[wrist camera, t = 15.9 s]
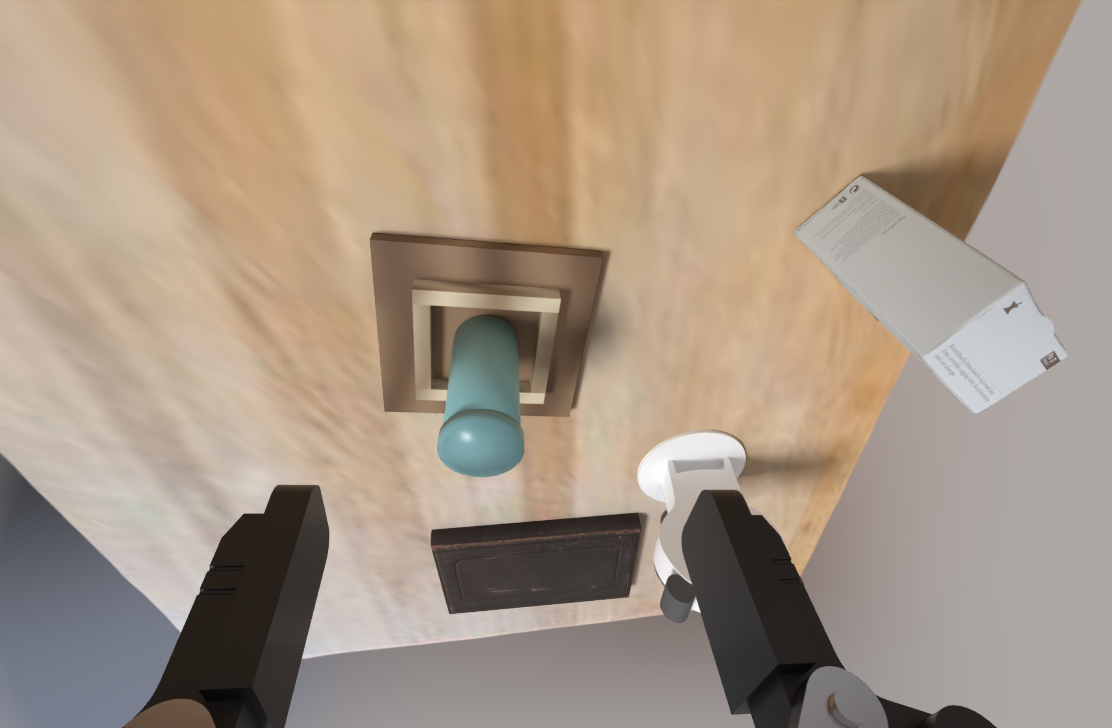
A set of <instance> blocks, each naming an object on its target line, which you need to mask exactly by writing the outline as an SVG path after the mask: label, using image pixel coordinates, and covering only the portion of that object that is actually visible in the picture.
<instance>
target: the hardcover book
mask: <svg viewBox="0 0 1112 728" xmlns="http://www.w3.org/2000/svg"><path fill="white" fill-rule="evenodd" d="M640 531H641V525H640V519H639V515H638V513H629V514H617V515H605V516H593V517H581V518H569V519H557V520H545V521H533V522H521V523H509V524H497V525H485V526H474V527H462V528H450V529H438V530H432V532H431V548H432V552H433V556H434V559H435V563H436V567H437V570H438V574H439V578H440V581H441V585H442V589H443V593H444V596H445V600H446V604H447V607H448V611H449V614H456V613H467V612H477V611H488V610H498V609H509V608H520V607H530V606H541V605H551V604H562V603H573V602H583V601H594V600H604V599H615V598H626V597H629V594H630V588H631V583H632V577H633V571H634V565H635V559H636V554H637V548H638V542H639V536H640Z"/></svg>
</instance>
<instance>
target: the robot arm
mask: <svg viewBox="0 0 1112 728" xmlns="http://www.w3.org/2000/svg"><path fill="white" fill-rule="evenodd" d="M681 543H682V552H683V556H684V560H685V563H686V566H687V570H688V573H689V576H690V580H691V583H692V586H693V589H694V593H695V596H696V599H697V603H698V606H699V609H700V612H701V616H702V619H703V622H704V626H705V628H706V632H707V635H708V639H709V641H710V645H711V649H712V652H713V655H714V658H715V661H716V665H717V668H718V672H719V675H720V678H721V681H722V685H723V688H724V691H725V694H726V698H727V701H728V704H729V708H730V711H731V714H732V715H734V714H750V713H751V715H752V719H753V721H754V725H755V728H996V727H995V726H994V725H993V724H992V723H991V722H990V721H988V720H987V719H986V718H984V717H983V716H982V715H980V714H978V713H977V712H975V711H973V710H970V709H968V708H965V707H962V706H956V705H952V706H947V707H944V708H942V709H941V710H939V711H938V712H936V713H935V714H929V713H926V712H923V711H920V710H917V709H914V708H911V707H908V706H904V705H901V704H898V703H895V702H892V701H889V700H886V699H883V698H881V697H879V696H877V695H875V694H874V693H873V691H872V690H871V689H870V688H869V687H868V686H867V685H866V684H865V683H864V682H863V681H862V680H861V679H860V678H858V677H857V676H855V675H854V674H853V673H851V672H849V671H847V670H846V669H845V668H844V666H843V665H842V663H841V662H840V660H839V659H838V657H837V655H836V653H835V651H834V649H833V647H832V644H831V642H830V640H829V638H828V636H827V634H826V632H825V630H824V627H823V625H822V623H821V621H820V619H819V617H818V615H817V613H816V611H815V608H814V606H813V604H812V602H811V600H810V598H809V596H808V593H807V591H806V589H805V587H804V585H803V583H801V582H800V576H799V574H798V572H797V570H796V568H795V566H794V564H792V563H791V557H790V555H789V553H788V551H787V549H786V547H785V545H784V543H783V540H782V538H781V536H780V535H779V534H778V533H777V531H776V530H775V529H774V528H773V527H772V526H771V525H770V524H769V522H768V521H767V520H766V519H765V518H764V517H763V516H762V515H752V514H751V512H750V510H749V508H748V505H747V503H746V501H745V499H744V497H743V495H742V494H741V493H740V492H739V491H738V490H702V491H701V493H700V494H699V496H698V498H697V501H696V503H695V505H694V507H693V509H692V511H691V513H690V515H689V517H688V519H687V521H686V523H685V525H684V528H683V531H682V538H681ZM328 548H329V527H328V522H327V517H326V513H325V508H324V504H323V499H322V494H321V490H320V487H319V486H318V485H277V486H276V487H275V488H274V490H273V492H272V494H271V496H270V499H269V502H268V504H267V507H266V510H265V512H264V514H243V515H242V516H241V517H240V518H239V520H238V521H237V522H236V523H235V524H234V525H233V526H232V527H231V528H230V529H229V530H228V532H227V533H226V534H225V535H224V536H223V537H222V538H221V541H220V543H219V545H218V548H217V550H216V552H215V555H214V557H213V559H212V562H211V564H210V570H209V571H207V573H206V576H205V578H204V580H203V583H202V585H201V587H200V593H199V595H197V597H196V599H195V601H194V604H193V606H192V608H191V611H190V613H189V615H188V618H187V620H186V622H185V625H184V627H183V629H182V632H181V634H180V637H179V639H178V641H177V643H176V646H175V648H174V651H173V653H172V655H171V657H170V660H169V662H168V664H167V667H166V669H165V672H164V674H163V676H162V678H161V681H160V683H159V685H158V687H157V689H156V691H155V692H154V694H153V696H152V697H151V699H150V700H149V701H148V703H147V704H146V705H145V706H144V708H143V709H142V710H141V711H140V712H139V713H138V714H137V715H136V716H135V717H134V718H133V719H132V720H131V721H130V722H129V723H127V724H126V725H125V726H124V727H123V728H284V727H285V723H286V719H287V715H288V711H289V706H290V703H291V699H292V695H293V691H294V687H295V683H296V679H297V675H298V671H299V667H300V663H301V659H302V655H303V651H304V647H305V643H306V639H307V635H308V631H309V627H310V623H311V619H312V615H313V611H314V607H315V603H316V599H317V595H318V591H319V587H320V583H321V579H322V575H323V572H324V568H325V564H326V559H327V554H328Z"/></svg>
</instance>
